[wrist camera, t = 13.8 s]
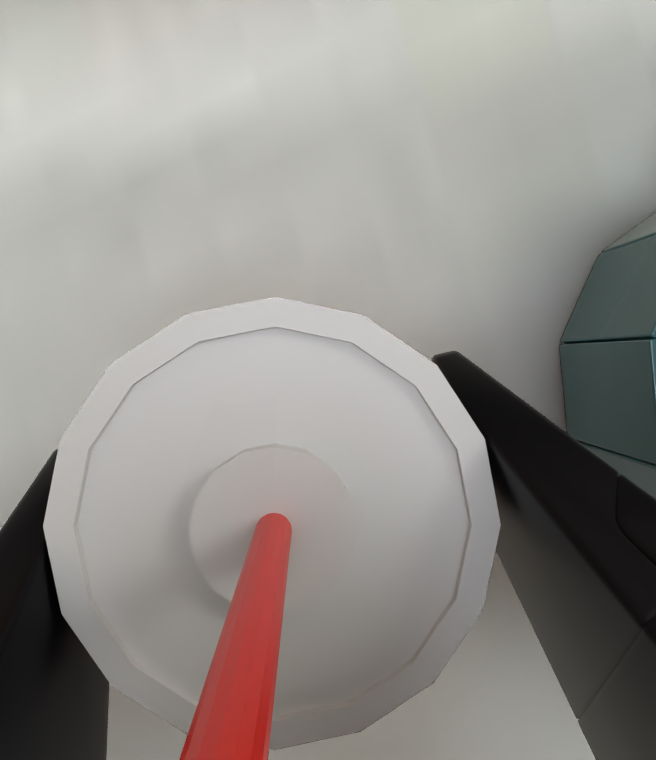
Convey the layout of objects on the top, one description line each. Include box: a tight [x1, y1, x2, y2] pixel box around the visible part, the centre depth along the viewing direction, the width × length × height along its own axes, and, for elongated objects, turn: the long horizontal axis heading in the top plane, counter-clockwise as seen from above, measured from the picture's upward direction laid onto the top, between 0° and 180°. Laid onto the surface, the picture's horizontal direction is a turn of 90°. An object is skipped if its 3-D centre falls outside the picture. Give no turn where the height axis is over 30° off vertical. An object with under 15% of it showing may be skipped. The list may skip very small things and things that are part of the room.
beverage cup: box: [43, 297, 501, 760], centre depth 10 cm, size 6×6×14 cm
